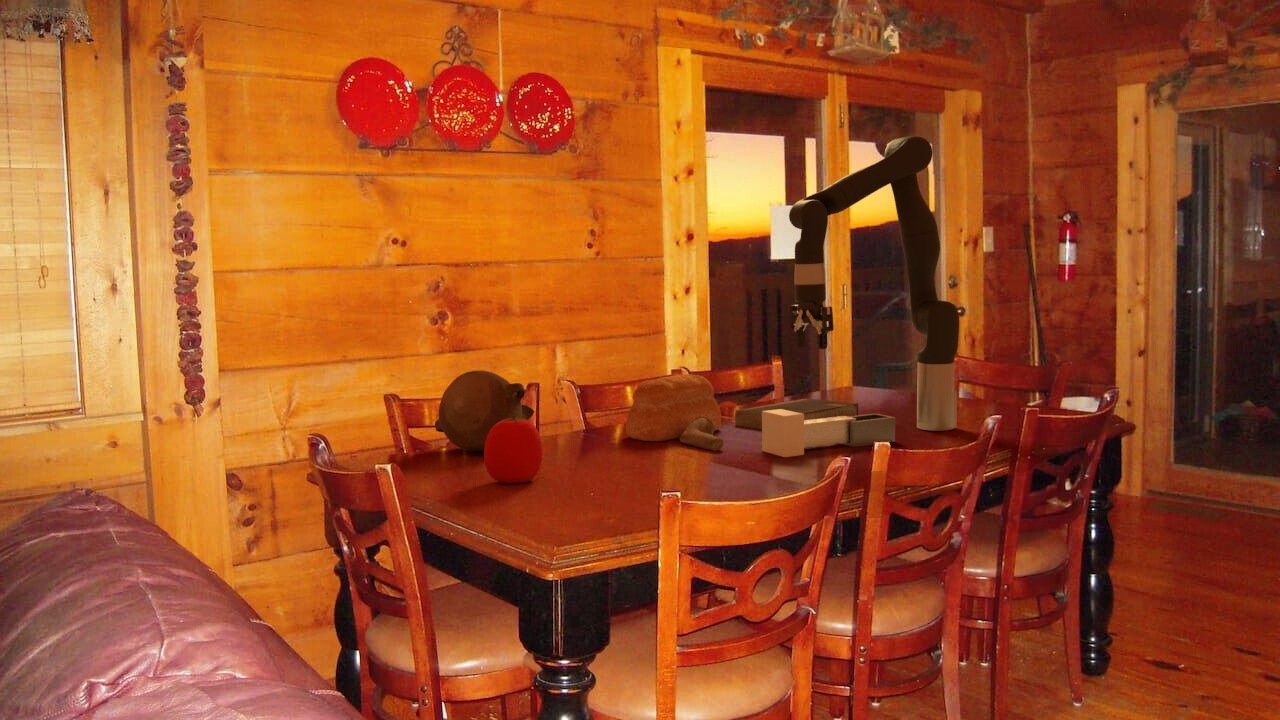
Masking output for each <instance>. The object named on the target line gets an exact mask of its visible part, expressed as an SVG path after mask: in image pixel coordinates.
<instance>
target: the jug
mask: <svg viewBox="0 0 1280 720" xmlns="http://www.w3.org/2000/svg"><path fill="white" fill-rule="evenodd" d="M525 391H526V390H525V388H524V385H523V383H520V382H515V383H511V382H509V381H508V380H507V379H505V378H504V377H502V376H501V375H499V374H497V373H495V372H491V371H487V370H472V371H471V370H470V371H466V372H464V373H462V374H460V375H458V376H457V377H455V378H454V380H453V381H452V382H451V383H450V384H449V385H448V386H447V388H446V389H445V390H444V392H443V394H442V396H441V400H440V402H439V406H438V419H437V420H436V421H435V422H434V427H435V431H436V432H439V433H443V434H444V435H445V437H446V438H447V439H448V441H450V442H451V443H452V444H454V445H455V447H458V448H460V449H462V450H464V451H468V452H484V448H485V442H486V438H487V435H488V433H489V432H490V430H491V428H492V427H493V426H494V425H495V424H497V423H498V422H500V421H502V420H503V419H504V420H505V419H506V418H513V415H515V417H519V418H524V419H525V420H527V421H529V419H531V418H532V417H533V416H534V414H535V410H534V409H533V408H531V407H530V406H529V405H525V404H522V402H521V401H522V400H523V398H524V397H525V394H526V392H525Z"/></svg>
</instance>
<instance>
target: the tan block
mask: <svg viewBox="0 0 1280 720" xmlns="http://www.w3.org/2000/svg"><path fill="white" fill-rule="evenodd" d="M761 451H762V452H764V453H768V454H772V455H775V456H779V457H783V458H789V457H797V456H803V455H805V448H804V414H802V413H797V412H793V411H788V410H783V409H777V410H767V411H762V429H761Z"/></svg>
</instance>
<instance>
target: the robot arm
mask: <svg viewBox="0 0 1280 720" xmlns="http://www.w3.org/2000/svg"><path fill="white" fill-rule="evenodd" d="M883 157H884V158H882V159H881V160H879V161H877V162H875V163H872V164H871V165H868V166H867V167H864V168H860V169H858V170H856V171H854V172H851V173H850V174H847V175H845V176H844V177H842V178H840V179H838V180H837V181H835V182H833V183H831V184H830V185H828V186H827V187H825V188H824V189H822V190H820V191H818V192H817V191H816V193H813V194H811V195H808V196H807V197H804V198H802V199H800V200H799V201H797V202H795V204H793V205H792V206H791V208H790V210H789V212H788V214H789V215H788V217H789V218H788V219H789V222H790V224H791V225H792V227H794V228H796V229H799V230H800V238H799V240H797V241H796V242H795V246H794V273H793V274H794V275H793V276H794V302H795V303H798V304H793V305H790V306H789V329H791V330H793V331H794V333H795V343H796V347H798V348H804V347H805V346H806V331H805V330H806V328H807V326H808V325H809V324H810V325H812V326H813V327H814V328H815V329H816V332H817V333H818V334H817V347H818V350H826V349H827V348H828V346H829V345H828V334H829V332H833V331H834V316H833V315H834V314H833V311H834V310H833V307H832V306H824V304H823V302H825V301H826V300H827V297H826V296H827V293H826V292H827V290H826V289H827V288H826V270H825V269H826V268H825V255H824V254H825V253H824V244H825V240H826V236H827V235H826V234H827V229H828V223H829V222H828V221H829V216H831V215H835V214H839V213H841V212H844V211H845V210H847V209H849V208H850V207H852V206H853V205H855V204H858V203H859V202H860V201H862V200H863V199H865V198H867V197H868V196H870V195H872V194H873V193H875V192H877V191H878V190H881V189H882V188H884V187H885V186H888V185H890V186H891V190H892V194H893V198H894V199H893V200H894V204H895V210H896V214H897V219H898V225H899V233H900V239H901V245H902V246H901V247H902V251H903V255H904V260H905V265H906V266H905V267H906V272H907V279H908V285H909V298H910V299H909V300H910V313H911V315H910V316H911V321H912V324H913V327H914V328H915V330H916V331H917V332H918V333H920V334H921V335H925V336H926V343H925V346H924V347H923V348H922V349H920V350H919V351H918V352H917V358H916V359H917V365H916V366H917V368H916V369H917V371H916V373H917V377H916V379H917V380H916V385H917V386H916V388H917V391H916V428H917V429H919V430H924V431H935V432H937V431H938V432H939V431H941V432H942V431H943V432H944V431H950V430H953V429H956V428H957V419H958V418H957V417H958V416H957V415H958V414H957V413H958V412H957V409H958V403H957V402H958V392H957V391H956V390H955V358H956V354H957V352H958V349H959V348H958V347H959V337H960V314H959V311H958V308H957V307H956V306H955V304H953V303H952V302H950V301H946V300H939V299H938V294H937V290H936V283H935V277H936V276H935V275H936V269H937V266H938V263H939V258H940V254H941V253H940V252H941V242H940V234H939V230H938V224H937V221H936V219H935V216H934V214H933V213H932V211H931V208H930V207H929V206H928V204H927V203H926V200H925V199H924V197H923V194H922V193H921V190H920V185H919V181H918V175H917V174H918V173H920V172H922V171H924V170H926V168H928V166H929V165H930V164H931V162H932V158H933V148H932V145H931V143H930V142H929V141H928V140H927V139H926V138H924V137H922V136H918V135H914V136H913V135H911V136H904V137H900V138H895V139H893V140H891V141H890V142H888V144H887V145H886V148H885V150H884V156H883ZM827 322H828V323H827Z"/></svg>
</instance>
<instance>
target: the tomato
mask: <svg viewBox="0 0 1280 720" xmlns="http://www.w3.org/2000/svg"><path fill="white" fill-rule="evenodd" d="M529 420H532V419H531V418H530V419H529ZM529 420H528V421H527V420H525V419H524V418H519V417H515V415H513V418H506V419H505V420H504V419H503V420H502V421H500V422H498V423H497V424H495V425H494V426H493V427H492V428H491V430H490V432H489V433H488V435H487V438H486V442H485V448H484V451H483V459H484V465H485V468H486V470H487V473H488V474H489V475H490V477H491V479H493V480H495V481H496V482H500V483H503V484H521V483H527V482H529V481H531V480H533V479H534V478H535V476H536V475H537V474H538V473H539V471H540V469H541V468H540V467H541V466H542V465H541V464H542V460H543V454H544V446H543V439H542V438H541V435H540V432H539V430H538V429H537V427H536V425H535V424H533V423H532V422H531V421H529Z"/></svg>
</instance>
